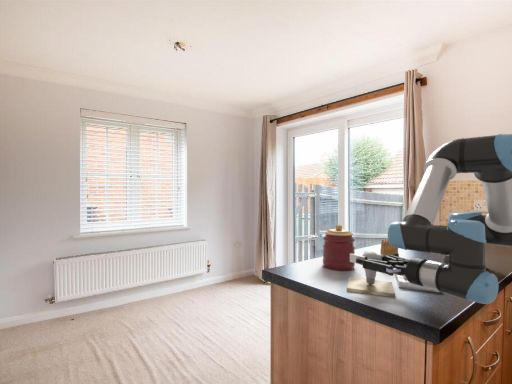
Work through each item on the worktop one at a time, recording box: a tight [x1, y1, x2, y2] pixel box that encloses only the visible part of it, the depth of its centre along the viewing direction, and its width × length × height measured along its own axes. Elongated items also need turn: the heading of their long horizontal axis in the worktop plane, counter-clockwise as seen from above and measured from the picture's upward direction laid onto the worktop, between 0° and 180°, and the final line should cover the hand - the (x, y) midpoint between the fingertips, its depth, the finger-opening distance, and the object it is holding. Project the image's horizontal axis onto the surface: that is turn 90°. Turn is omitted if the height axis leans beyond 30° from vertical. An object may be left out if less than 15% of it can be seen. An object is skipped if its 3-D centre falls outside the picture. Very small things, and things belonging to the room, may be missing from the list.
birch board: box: [346, 276, 396, 298], centre depth 96 cm, size 14×12×1 cm
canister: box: [322, 224, 356, 271], centre depth 121 cm, size 13×13×18 cm
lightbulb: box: [361, 251, 381, 285], centre depth 96 cm, size 6×6×11 cm
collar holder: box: [394, 274, 441, 293], centre depth 100 cm, size 12×12×2 cm
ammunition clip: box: [379, 238, 400, 257], centre depth 123 cm, size 11×2×12 cm, turn 120°
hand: (358, 256), depth 100 cm, fingers open, 7 cm apart
